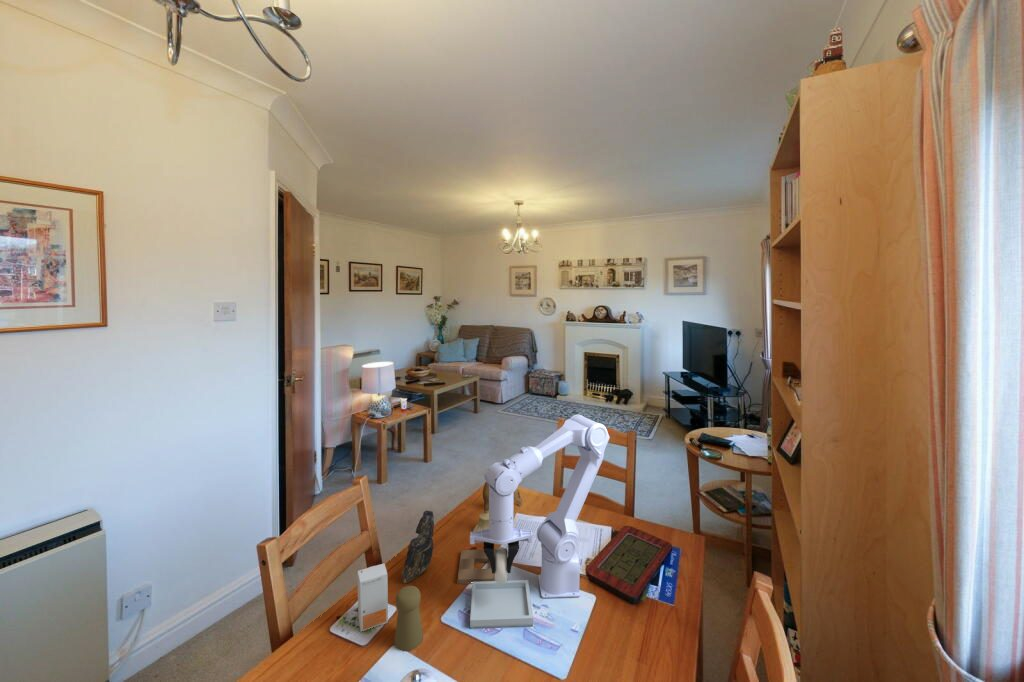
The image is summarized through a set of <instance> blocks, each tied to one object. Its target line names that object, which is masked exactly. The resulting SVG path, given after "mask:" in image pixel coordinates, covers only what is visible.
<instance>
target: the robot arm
mask: <svg viewBox="0 0 1024 682" xmlns="http://www.w3.org/2000/svg"><path fill="white" fill-rule="evenodd" d="M609 434H610V433H608V429H607V427H606V426H605V424H604V423H603V424H602V423H600V422H596V421H594V420H593V419H590V418H587V417H586V416H583V415H582V414H574V415H572V416H571V417H570V418H569V419H566V420H565V421H564V423H563V425H562V426H561V427H560V428H558V429H557V430H556V431H554V432H553V433H552V434H551V435H549V436H548V437H546V438H545V439H544V440H543V441H541V442H540V443H538V444H537V445H536V446H530V445H527V446H521V448H519V451H518V452H516V453H515V454H512V455H511V456H510V457H508V458H505V459H503V461H502V462H501V461H500V462H498V461H496V462H494V463H492V464H491V465H490V466H488V469H487V471H486V474H484V480H485V483H486V482H487V483H488V484H489V529H484V530H480V531H475V532H473V531H470V532H469V544H470V545H475V544H476V543H483V545H482V546H483V549H482V550H484V552H485V554H486V556H487V558H488V560H489V562H490V565H491V569H492V573H495V558H494V549H495V545H507V551H508V558H507V574H511V572H512V566H513V564H514V560H515V558H516V556H517V554H518V552H519V551H520V542H527V543H528V544H532V543H533V531H532V530H530V529H521V528H518V527H517V528H516V527H514V512H515V511H514V508H515V507H514V500H515V499H514V491H515V490H516V489H518V486H519V484H520V483H522V481H523V480H524V479H526V478H527V477H528V476H529V475H531V474H532V473H534V472H536V471H537V470H539V469H540V468H541V467H542V464H543V460H545V459H547V458H548V457H550V456H552V455H554V454H555V453H557V452H558V451H560V450H562V449H564V448H566V447H567V446H569V445H572V446H576V447H577V449H578V450H579V454H580V456H579V458H578V460H577V463H576V464H575V467H574V470H573V471H572V474H571V476H570V479H569V480H568V483H567V486H566V487H565V489H564V492H563V494H562V496H561V498H560V500H559V502H558V505H557V507H556V510H555V511H552V512H550V513H548V514H547V515H546V517H545V518H544V521H542V522H541V523H540V524H539V525H538V528H537V530H536V538H537V540H538V541H539V542H540V544H541V545H540V547H541V566H540V567H541V568H540V569H541V570H540V571H541V573H539V574H538V575H537V578H538V584H539V590H540V596H541V598H543V599H546V598H547V599H549V598H551V599H553V598H575V597H576V598H578V597H580V595H581V594H580V572H581V571H580V560H579V559H580V558H579V556H578V552H577V551H576V550H577V542H578V539H579V537H580V533H579V530H578V526H577V520H578V517H579V515H580V513H581V510H582V509H583V506H584V503H585V502H586V499H587V496H588V495H589V492H590V490H591V487H592V485H593V483H594V481H595V478H596V476H597V474H598V472H599V469H600V467H601V464H602V463H603V461H604V457H605V449H606V448H607V445H608V443H609V441H610V438H611V437H610V435H609ZM489 562H488V563H489Z"/></svg>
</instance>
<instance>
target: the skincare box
mask: <svg viewBox="0 0 1024 682" xmlns="http://www.w3.org/2000/svg"><path fill="white" fill-rule="evenodd" d="M356 571H357V572H356V573H357V614H358V619H357V620H358V625H359V631H360V633H363V632H364V631H368V630H371V629H373V627H374V628H377V627H379V626H383V625H385V624H387V623H388V622H389V600H388V599H389V598H388V596H389V593H388V591H389V590H388V589H389V587H388V581H389V580H388V571H387V568H386V563H381V564H377V565H372V566H369V567H366V568H364V569H360V570H356ZM376 626H377V627H376ZM370 628H371V629H370ZM367 629H368V630H367ZM362 631H363V632H362Z"/></svg>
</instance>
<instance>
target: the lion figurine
mask: <svg viewBox="0 0 1024 682" xmlns="http://www.w3.org/2000/svg"><path fill="white" fill-rule="evenodd" d="M514 500H515V501H517V502H518V504H517V506H518V507H521V506H522V502H523V500H522V498H521V494H520V491H519V489H518V488H517V489H516V490H515V491H514Z"/></svg>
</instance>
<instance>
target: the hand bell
mask: <svg viewBox="0 0 1024 682" xmlns="http://www.w3.org/2000/svg"><path fill="white" fill-rule="evenodd" d="M482 499H483V512H481V513H479V516H478V522H477V524H476V525H475V526H474V528H473V530H472V532H475V531H480V530H484V529H489V484H488V483H487V482H486V481H485V482H484V486H483V488H482Z"/></svg>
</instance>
